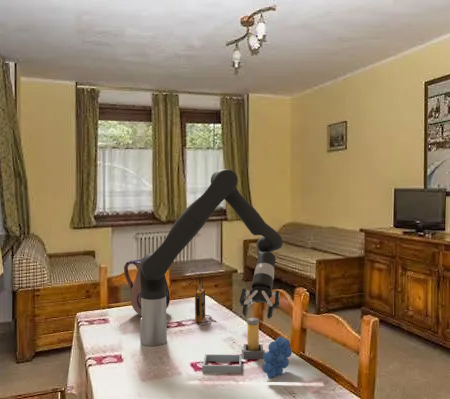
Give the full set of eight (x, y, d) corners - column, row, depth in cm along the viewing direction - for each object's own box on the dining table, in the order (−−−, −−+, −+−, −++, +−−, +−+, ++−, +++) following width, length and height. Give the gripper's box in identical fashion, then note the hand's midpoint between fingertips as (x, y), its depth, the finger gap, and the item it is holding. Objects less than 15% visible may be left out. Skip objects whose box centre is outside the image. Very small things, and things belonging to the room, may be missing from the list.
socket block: (241, 361, 142) (241, 352, 142) (241, 351, 150) (241, 343, 150) (265, 361, 141) (265, 352, 141) (264, 352, 149) (264, 343, 149)
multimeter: (215, 326, 177) (215, 279, 176) (192, 325, 179) (192, 278, 178) (223, 316, 191) (222, 271, 190) (201, 315, 193) (201, 271, 192)
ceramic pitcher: (167, 320, 186) (166, 263, 185) (119, 320, 186) (117, 263, 185) (172, 308, 203) (171, 256, 202) (128, 309, 203) (127, 257, 203)
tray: (202, 374, 132) (202, 365, 132) (205, 362, 141) (205, 354, 141) (241, 375, 131) (240, 366, 131) (241, 363, 140) (241, 354, 140)
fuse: (247, 356, 144) (247, 321, 143) (247, 351, 148) (247, 317, 147) (259, 356, 143) (259, 321, 143) (259, 351, 147) (258, 317, 147)
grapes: (280, 366, 137) (280, 329, 137) (296, 373, 132) (296, 335, 132) (254, 376, 130) (253, 338, 130) (269, 384, 125) (269, 344, 124)
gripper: (243, 271, 160) (235, 309, 150) (280, 273, 156) (275, 313, 145) (247, 282, 165) (239, 320, 155) (283, 284, 161) (278, 323, 150)
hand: (256, 316), depth 150 cm, fingers open, 8 cm apart
